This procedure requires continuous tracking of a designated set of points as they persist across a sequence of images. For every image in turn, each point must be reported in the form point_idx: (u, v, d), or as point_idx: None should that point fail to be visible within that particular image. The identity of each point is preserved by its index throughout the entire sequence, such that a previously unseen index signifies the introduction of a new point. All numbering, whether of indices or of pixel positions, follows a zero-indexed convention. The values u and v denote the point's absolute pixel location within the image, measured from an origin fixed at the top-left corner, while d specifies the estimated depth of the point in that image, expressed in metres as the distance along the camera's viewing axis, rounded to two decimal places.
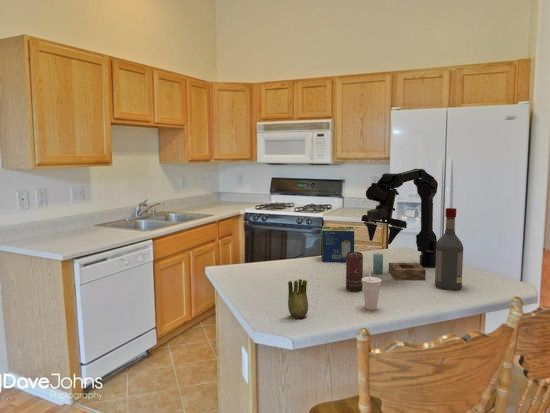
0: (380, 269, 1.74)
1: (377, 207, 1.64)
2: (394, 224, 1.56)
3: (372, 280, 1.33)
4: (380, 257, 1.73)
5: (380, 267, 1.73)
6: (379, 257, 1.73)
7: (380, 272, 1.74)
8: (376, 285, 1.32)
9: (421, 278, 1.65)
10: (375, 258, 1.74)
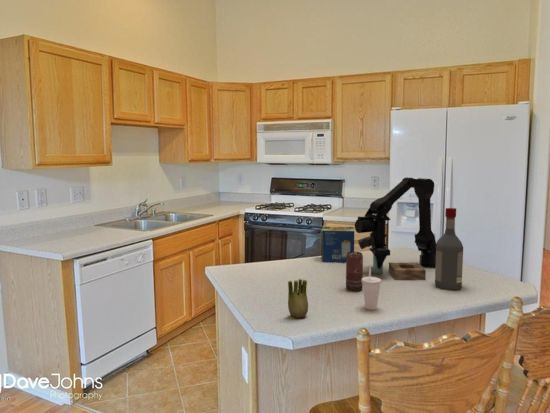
0: (380, 269, 1.74)
1: (370, 235, 1.75)
2: (374, 253, 1.67)
3: (372, 280, 1.33)
4: None
5: None
6: None
7: (380, 272, 1.74)
8: (376, 285, 1.32)
9: (421, 278, 1.65)
10: (375, 258, 1.74)
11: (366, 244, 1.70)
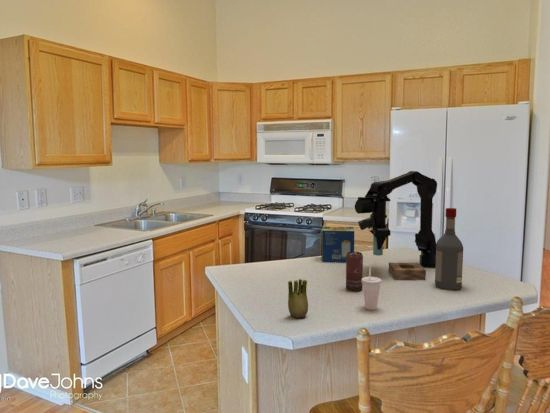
0: (380, 250, 1.73)
1: (370, 216, 1.74)
2: (374, 233, 1.66)
3: (372, 280, 1.33)
4: None
5: None
6: None
7: (380, 253, 1.73)
8: (376, 285, 1.32)
9: (421, 278, 1.65)
10: (375, 239, 1.72)
11: (366, 225, 1.69)
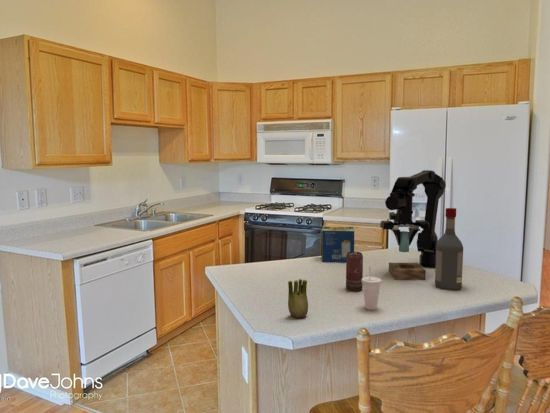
0: (400, 246, 1.69)
1: None
2: None
3: (372, 280, 1.33)
4: (400, 234, 1.69)
5: (399, 245, 1.69)
6: None
7: (400, 249, 1.69)
8: (376, 285, 1.32)
9: (421, 278, 1.65)
10: None
11: (390, 217, 1.74)
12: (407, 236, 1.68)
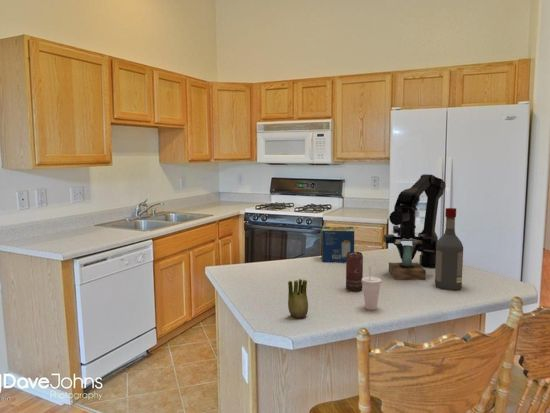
0: (402, 260, 1.70)
1: None
2: None
3: (372, 280, 1.33)
4: None
5: (402, 259, 1.70)
6: None
7: (402, 263, 1.70)
8: (376, 285, 1.32)
9: (421, 278, 1.65)
10: None
11: (393, 231, 1.75)
12: (410, 250, 1.68)
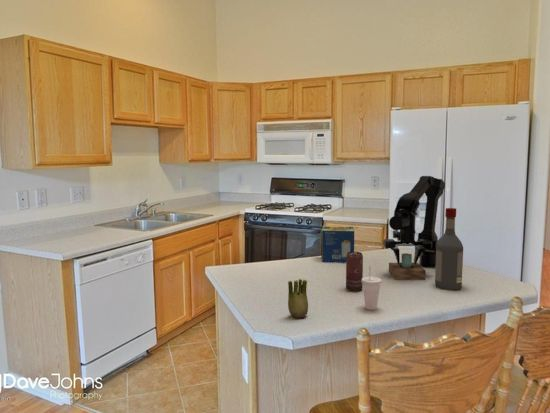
0: None
1: None
2: None
3: (372, 280, 1.33)
4: (402, 256, 1.70)
5: (402, 267, 1.70)
6: None
7: None
8: (376, 285, 1.32)
9: (421, 278, 1.65)
10: None
11: (393, 235, 1.75)
12: (409, 259, 1.68)
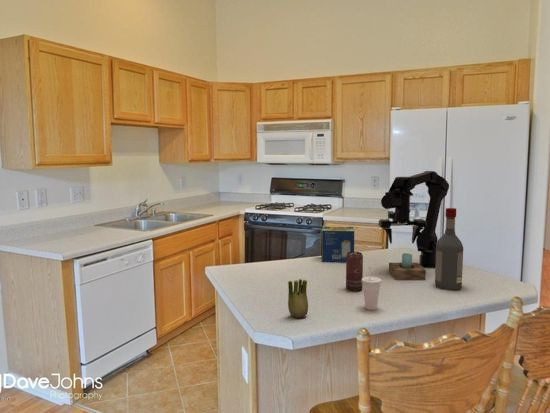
0: None
1: None
2: None
3: (372, 280, 1.33)
4: (402, 256, 1.70)
5: (402, 267, 1.70)
6: (402, 256, 1.70)
7: None
8: (376, 285, 1.32)
9: (421, 278, 1.65)
10: None
11: (388, 216, 1.78)
12: (410, 259, 1.68)
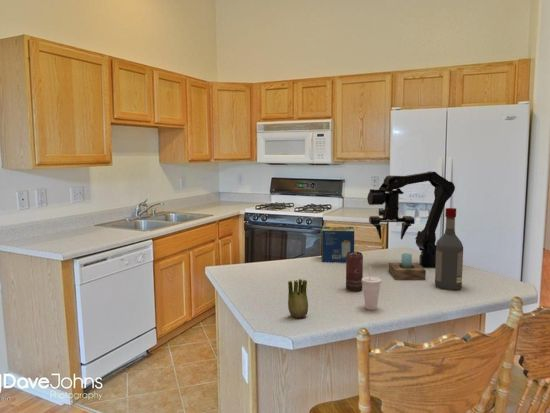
0: None
1: None
2: None
3: (372, 280, 1.33)
4: (402, 256, 1.69)
5: (402, 267, 1.70)
6: (402, 256, 1.70)
7: None
8: (376, 285, 1.32)
9: (421, 278, 1.65)
10: None
11: (379, 213, 1.86)
12: (409, 259, 1.68)
